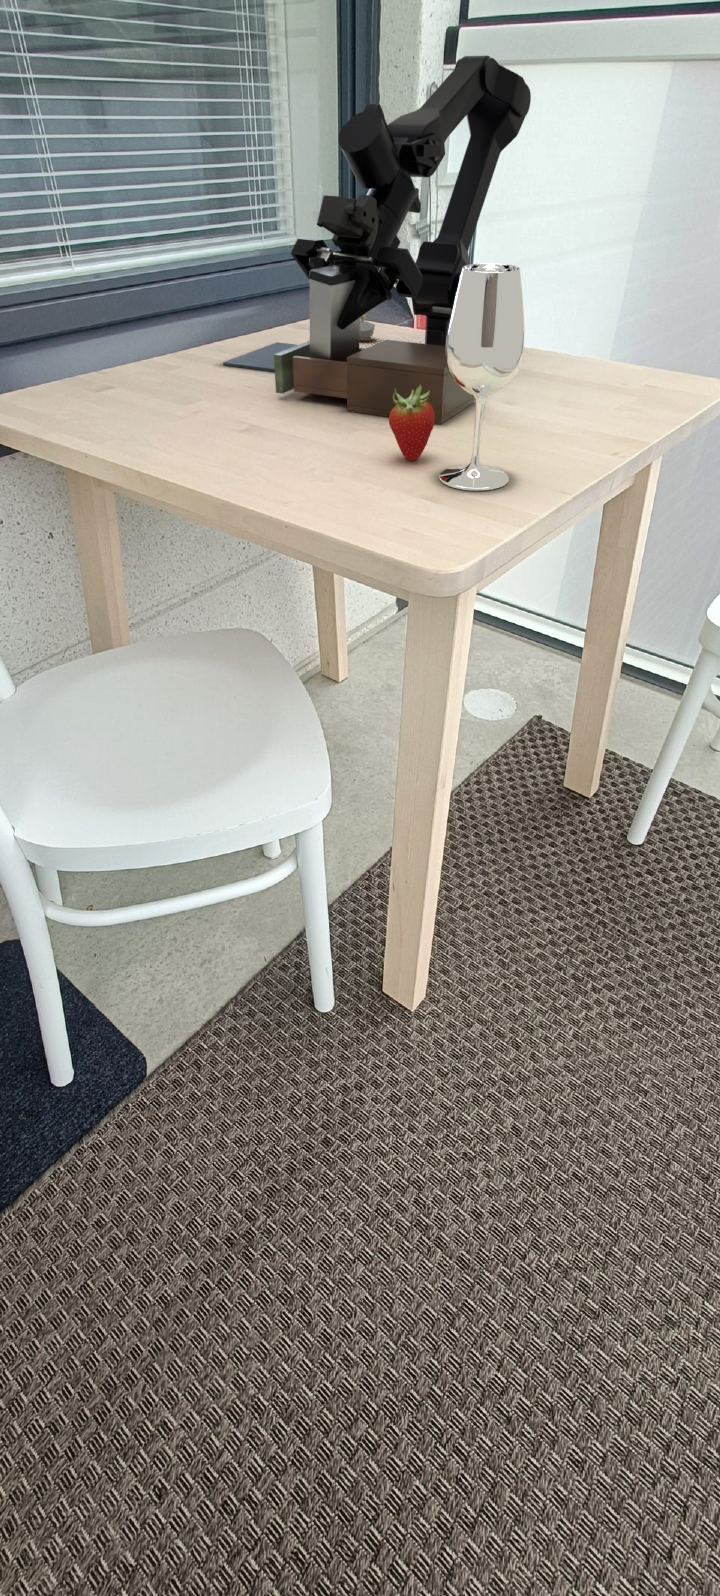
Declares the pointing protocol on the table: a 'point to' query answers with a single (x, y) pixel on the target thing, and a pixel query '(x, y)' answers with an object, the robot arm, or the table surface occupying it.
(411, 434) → the fruit
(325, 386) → the drawer
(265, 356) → the mat
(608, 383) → the table surface
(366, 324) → the figurine
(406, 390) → the cabinet
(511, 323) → the wineglass
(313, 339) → the grey canister
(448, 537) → the table surface
